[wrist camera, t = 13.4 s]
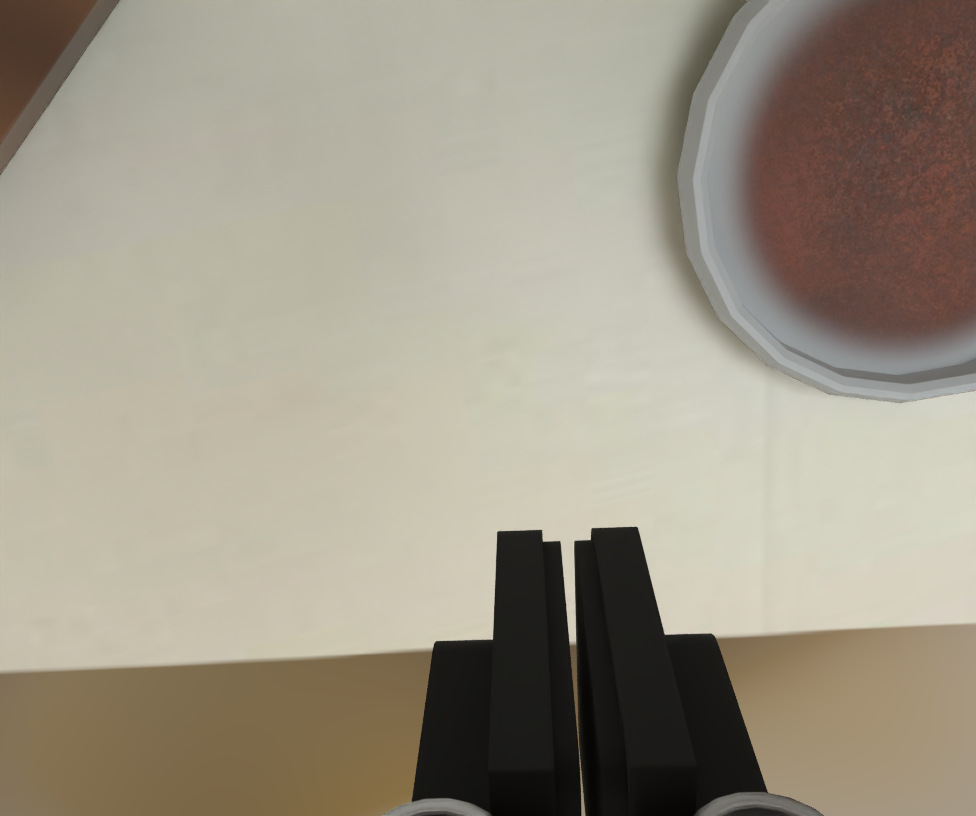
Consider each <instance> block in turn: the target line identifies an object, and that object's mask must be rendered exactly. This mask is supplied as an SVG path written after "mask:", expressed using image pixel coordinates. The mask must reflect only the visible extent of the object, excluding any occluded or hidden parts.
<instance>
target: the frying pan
mask: <svg viewBox="0 0 976 816" xmlns="http://www.w3.org/2000/svg"><path fill="white" fill-rule="evenodd" d="M677 181H678V190H679V198H680V206H681V214H682V223H683V231H684V239H685V247H686V253H687V256H688V258H689V260H690V262H691V264H692V266H693V268H694V270H695V272H696V274H697V276H698V278H699V280H700V282H701V284H702V286H703V288H704V291H705V293H706V295H707V297H708V299H709V301H710V303H711V305H712V307H713V309H714V311H715V313H716V315H717V317H718V318H719V319H720V320H721V321H722V322H723V323H724V324H725V325H726V326H727V327H728V328H729V329H730V330H731V331H732V332H733V333H734V334H735V335H736V336H737V337H738V338H739V339H740V340H741V341H742V342H743V343H744V344H745V345H746V346H747V347H748V348H750V349H751V350H752V351H753V352H754V353H755V354H756V355H757V356H758V357H759V358H760V359H761V360H762V361H763V362H764V363H765V364H766V365H767V366H769V367H771V368H774V369H776V370H778V371H780V372H782V373H784V374H786V375H789V376H791V377H793V378H795V379H797V380H799V381H801V382H804V383H806V384H808V385H810V386H812V387H814V388H816V389H818V390H821V391H823V392H825V393H827V394H830V395H838V396H846V397H854V398H862V399H870V400H878V401H887V402H895V403H904V402H910V401H916V400H922V399H928V398H934V397H940V396H946V395H952V394H958V393H964V392H970V391H975V390H976V0H748V1H747V2H746V3H745V4H744V5H743V6H742V7H741V8H740V10H739V11H738V12H737V13H736V14H735V15H734V16H733V18H732V20H731V22H730V24H729V26H728V27H727V29H726V31H725V33H724V35H723V37H722V39H721V41H720V43H719V45H718V47H717V49H716V51H715V53H714V55H713V56H712V58H711V60H710V62H709V64H708V66H707V68H706V70H705V72H704V74H703V76H702V78H701V80H700V82H699V83H698V85H697V87H696V89H695V91H694V93H693V95H692V100H691V105H690V111H689V116H688V121H687V126H686V132H685V137H684V142H683V147H682V153H681V158H680V163H679V168H678V174H677Z"/></svg>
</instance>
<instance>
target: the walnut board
mask: <svg viewBox="0 0 976 816" xmlns="http://www.w3.org/2000/svg"><path fill="white" fill-rule="evenodd" d="M118 1H119V0H0V174H1V173H2V171H3V170H4V168H5V167H6V166H7V164H8V163H9V161H10V160H11V158H12V157H13V155H14V154H15V152H16V151H17V149H18V148H19V146H20V145H21V144H22V142H23V141H24V139H25V138H26V136H27V135H28V133H29V132H30V130H31V129H32V127H33V126H34V125H35V123H36V122H37V120H38V119H39V117H40V116H41V114H42V113H43V111H44V110H45V108H46V107H47V105H48V104H49V103H50V101H51V100H52V98H53V97H54V95H55V94H56V92H57V91H58V89H59V88H60V86H61V85H62V83H63V82H64V81H65V79H66V78H67V76H68V75H69V73H70V72H71V70H72V69H73V67H74V66H75V64H76V63H77V61H78V60H79V59H80V57H81V56H82V54H83V53H84V51H85V50H86V48H87V47H88V45H89V44H90V42H91V41H92V39H93V38H94V37H95V35H96V34H97V32H98V31H99V29H100V28H101V26H102V25H103V23H104V22H105V20H106V19H107V17H108V16H109V15H110V13H111V12H112V10H113V9H114V7H115V6H116V4H117V3H118Z"/></svg>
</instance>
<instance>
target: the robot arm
mask: <svg viewBox="0 0 976 816" xmlns="http://www.w3.org/2000/svg"><path fill="white" fill-rule="evenodd" d="M574 556H575V600H576V644H577V688H578V726H579V747H580V759H581V771H582V782H583V793H584V804H585V815H586V816H824V815H823V814H821V813H820V812H819V811H817V810H816V809H814V808H812V807H810V806H808V805H805V804H803V803H801V802H799V801H796V800H794V799H792V798H789V797H784V796H780V795H775V794H769V793H768V792H767V789H766V786H765V783H764V780H763V777H762V774H761V771H760V768H759V765H758V762H757V759H756V756H755V753H754V750H753V747H752V744H751V741H750V738H749V735H748V732H747V729H746V726H745V723H744V720H743V717H742V714H741V711H740V709H739V705H738V702H737V699H736V696H735V693H734V690H733V687H732V684H731V681H730V678H729V675H728V672H727V669H726V666H725V663H724V660H723V657H722V654H721V651H720V649H719V646H718V643H717V641H716V638H715V636H714V635H712V634H677V635H664V631H663V627H662V623H661V619H660V615H659V611H658V607H657V603H656V599H655V595H654V591H653V587H652V583H651V579H650V575H649V571H648V566H647V562H646V558H645V554H644V550H643V546H642V542H641V538H640V534H639V531H638V528H637V527H616V528H592V530H591V540H583V541H575V542H574ZM382 816H581V785H580V765H579V749H578V737H577V726H576V715H575V703H574V691H573V680H572V669H571V657H570V645H569V634H568V623H567V611H566V600H565V588H564V577H563V565H562V554H561V543H560V541H553V542H543V539H542V530H526V531H498V532H497V555H496V580H495V606H494V631H493V640H463V641H436V642H435V643H434V647H433V652H432V659H431V667H430V674H429V681H428V688H427V695H426V703H425V710H424V717H423V724H422V732H421V740H420V747H419V754H418V761H417V768H416V775H415V783H414V790H413V797H412V802H411V803H407V804H404V805H400V806H398V807H397V808H395V809H393V810H391V811H389V812H387V813H385V814H384V815H382Z"/></svg>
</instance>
